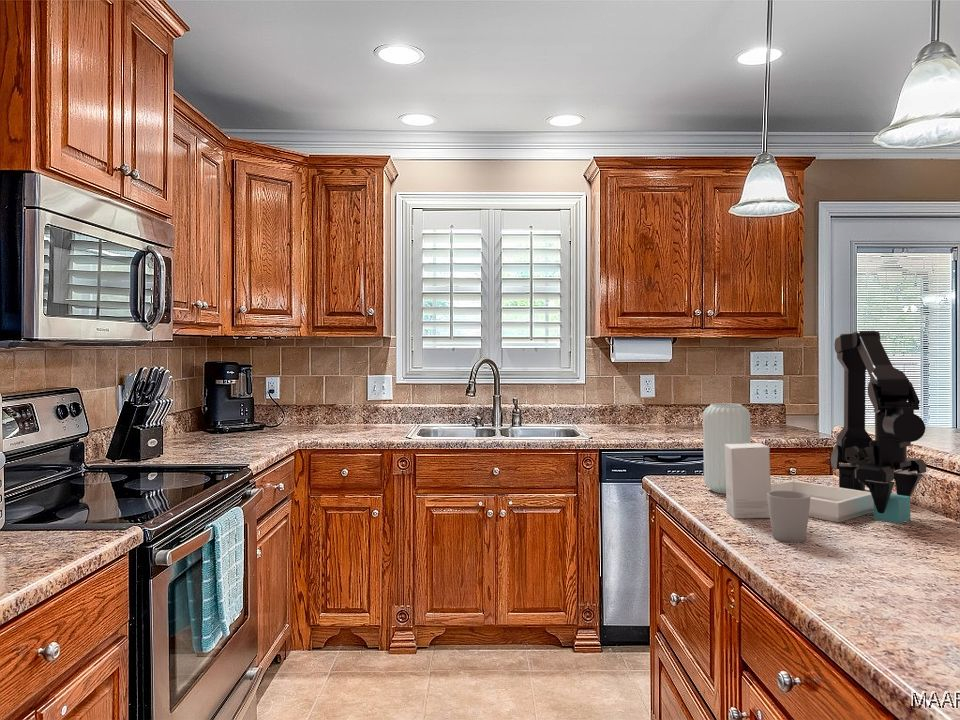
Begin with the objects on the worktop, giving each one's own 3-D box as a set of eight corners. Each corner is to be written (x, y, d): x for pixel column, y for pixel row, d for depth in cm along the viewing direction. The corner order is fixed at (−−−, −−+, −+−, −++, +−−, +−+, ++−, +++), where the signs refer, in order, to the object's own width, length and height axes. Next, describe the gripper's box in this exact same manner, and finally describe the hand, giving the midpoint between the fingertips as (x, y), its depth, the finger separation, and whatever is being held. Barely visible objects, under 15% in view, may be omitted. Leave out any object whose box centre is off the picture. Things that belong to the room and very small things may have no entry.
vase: (745, 486, 181) (744, 402, 181) (756, 495, 170) (755, 406, 169) (700, 486, 183) (699, 403, 182) (708, 495, 171) (707, 406, 171)
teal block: (885, 515, 147) (885, 492, 147) (910, 520, 143) (910, 496, 143) (873, 519, 145) (873, 495, 145) (898, 524, 140) (898, 499, 140)
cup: (767, 542, 129) (767, 497, 129) (767, 529, 138) (766, 487, 138) (812, 545, 126) (811, 499, 126) (809, 532, 135) (808, 489, 135)
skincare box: (763, 512, 153) (762, 442, 152) (773, 519, 146) (772, 446, 146) (724, 512, 153) (723, 442, 153) (732, 519, 147) (731, 447, 147)
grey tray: (791, 496, 168) (791, 480, 168) (876, 511, 151) (876, 493, 151) (752, 505, 159) (752, 488, 159) (838, 522, 142) (838, 503, 142)
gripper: (873, 429, 156) (874, 497, 156) (829, 436, 145) (830, 509, 145) (927, 433, 147) (928, 506, 147) (884, 441, 136) (885, 519, 136)
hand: (891, 509), depth 144 cm, fingers open, 9 cm apart
